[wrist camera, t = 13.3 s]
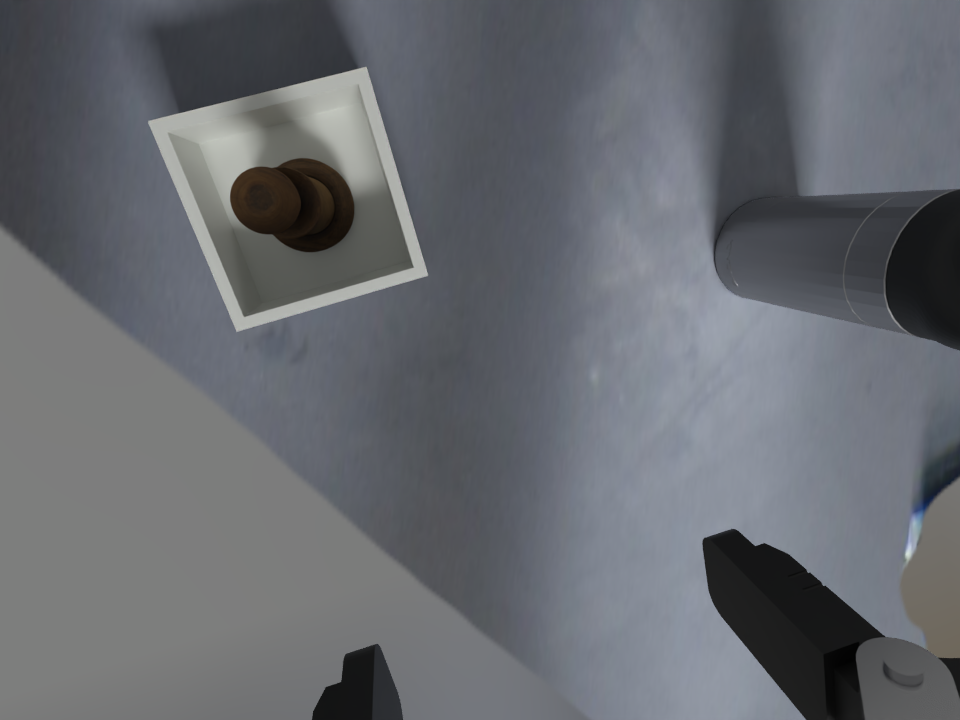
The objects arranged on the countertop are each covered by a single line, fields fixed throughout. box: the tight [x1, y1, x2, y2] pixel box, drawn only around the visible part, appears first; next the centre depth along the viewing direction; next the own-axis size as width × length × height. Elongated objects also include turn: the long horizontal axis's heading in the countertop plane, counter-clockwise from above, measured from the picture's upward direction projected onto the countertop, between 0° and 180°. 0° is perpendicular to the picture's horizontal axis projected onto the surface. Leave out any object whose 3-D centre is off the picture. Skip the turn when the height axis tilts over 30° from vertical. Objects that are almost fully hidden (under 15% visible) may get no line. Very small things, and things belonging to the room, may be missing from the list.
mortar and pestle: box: [230, 158, 354, 252], centre depth 32 cm, size 7×6×18 cm
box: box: [148, 67, 428, 331], centre depth 38 cm, size 14×14×7 cm
